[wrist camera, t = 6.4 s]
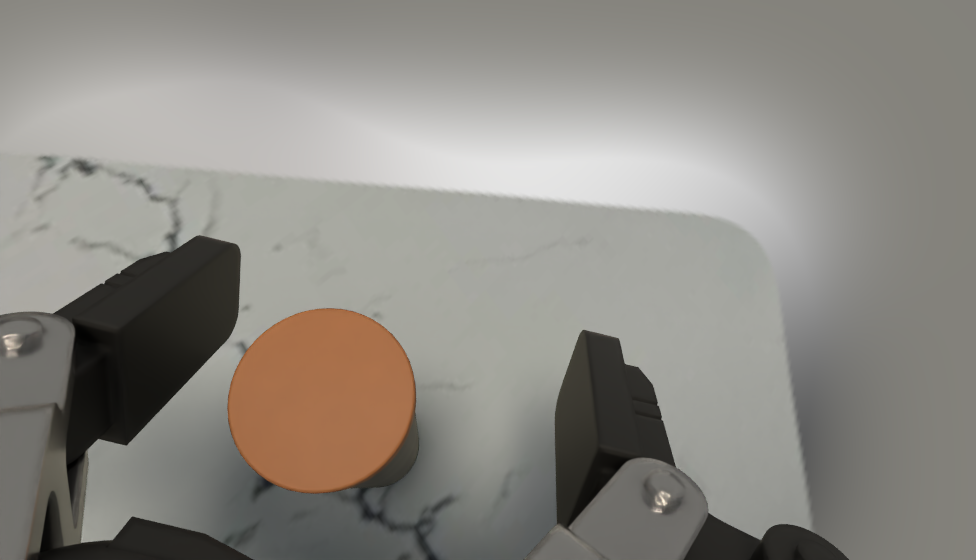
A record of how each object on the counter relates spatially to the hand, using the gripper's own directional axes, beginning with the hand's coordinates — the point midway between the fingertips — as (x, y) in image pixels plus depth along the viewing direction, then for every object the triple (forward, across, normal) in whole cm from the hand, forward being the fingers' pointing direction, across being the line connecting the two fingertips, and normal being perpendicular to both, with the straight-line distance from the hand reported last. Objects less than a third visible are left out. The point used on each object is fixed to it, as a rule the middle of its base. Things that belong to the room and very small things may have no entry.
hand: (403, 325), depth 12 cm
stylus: (+4, +1, +7) cm, 8 cm away
